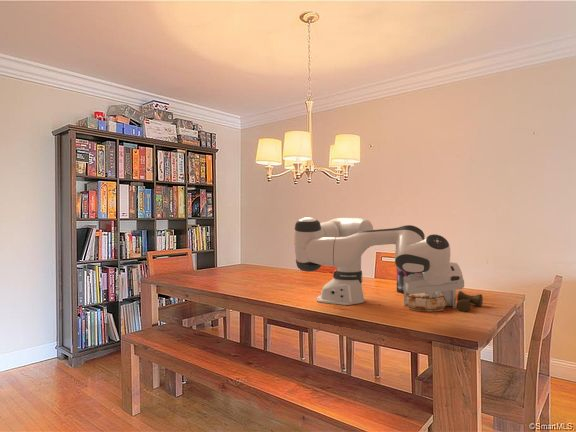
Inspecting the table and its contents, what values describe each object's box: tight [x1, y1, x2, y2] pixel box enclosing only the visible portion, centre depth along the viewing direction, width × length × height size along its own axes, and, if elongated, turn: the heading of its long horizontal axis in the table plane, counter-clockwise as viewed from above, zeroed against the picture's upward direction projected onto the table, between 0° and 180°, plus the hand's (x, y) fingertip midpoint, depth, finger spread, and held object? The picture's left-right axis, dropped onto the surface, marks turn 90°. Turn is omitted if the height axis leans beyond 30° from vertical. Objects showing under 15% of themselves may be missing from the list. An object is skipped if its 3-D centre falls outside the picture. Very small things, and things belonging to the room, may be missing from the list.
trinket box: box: [406, 293, 446, 312], centre depth 158 cm, size 13×15×8 cm
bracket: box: [403, 276, 457, 309], centre depth 164 cm, size 21×6×12 cm, turn 73°
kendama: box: [456, 290, 484, 313], centre depth 160 cm, size 6×10×20 cm
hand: (433, 296), depth 141 cm, fingers closed
